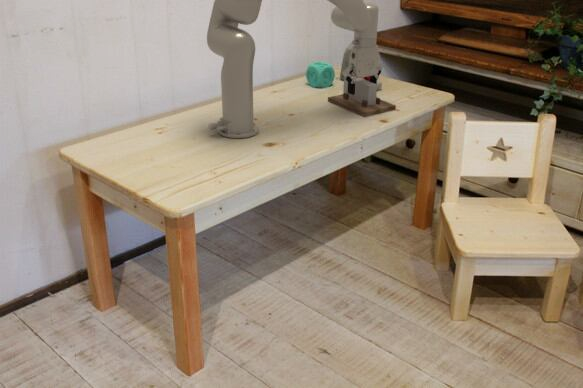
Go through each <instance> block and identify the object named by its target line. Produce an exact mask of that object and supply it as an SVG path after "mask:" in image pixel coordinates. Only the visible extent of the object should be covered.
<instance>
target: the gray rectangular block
mask: <svg viewBox="0 0 583 388" xmlns="http://www.w3.org/2000/svg"><path fill="white" fill-rule="evenodd" d="M352 78H353V77H352ZM354 83H355V94H354V95H352V94H349V93H348V82H347V81H346V79H345V78H344V80H343V90H342V91H343V93H347V94H349V98H350V99H353V100H355V101H357V102H360V103H362V100H365V101H367V102H368V103H367V106H370V105H375V104H376V97H377V93H378V90H377V84H374V83H372V82H369V81H367V80H364V79H361V78H357V79H356V80H355V82H354ZM343 93H342V94H343Z"/></svg>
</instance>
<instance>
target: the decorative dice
mask: <svg viewBox="0 0 583 388" xmlns="http://www.w3.org/2000/svg"><path fill="white" fill-rule="evenodd" d="M335 74H336V72H335V69H334V67H333V65H332V64H331V63H329V62H325V61H315V62H310V64H309V65H308V67H307V68H306V71H305V78H306V81H307V83H308V85H310V86H311V87H312V88H316V89H317V88H320V89H322V88H323V89H324V88H328V87H331V85H332V84H333V82H334V80H335V76H336V75H335Z"/></svg>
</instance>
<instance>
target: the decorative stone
mask: <svg viewBox="0 0 583 388" xmlns="http://www.w3.org/2000/svg"><path fill="white" fill-rule="evenodd" d="M353 46H354V44H352V42H351V43H350V44H348V45H347V46H346V48H345V50H344V52H343V56H342V61H341V65H340V66H341V67H340V73H339V78H340V80H341V81H344V75H343V70H345V69H346V68H347V67H348V66H349V62H350V55H351V50H352V47H353ZM348 75H350V74H349V73H348Z"/></svg>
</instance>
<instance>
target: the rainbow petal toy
mask: <svg viewBox="0 0 583 388" xmlns="http://www.w3.org/2000/svg"><path fill="white" fill-rule="evenodd" d="M370 77H371V76H368V77H363V78H361V79H364V80H367V81H369V80H370ZM382 86H383V83H382V81H381V80H380V79H379V78H378V79H377V91H379V90H381V89H382Z"/></svg>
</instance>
